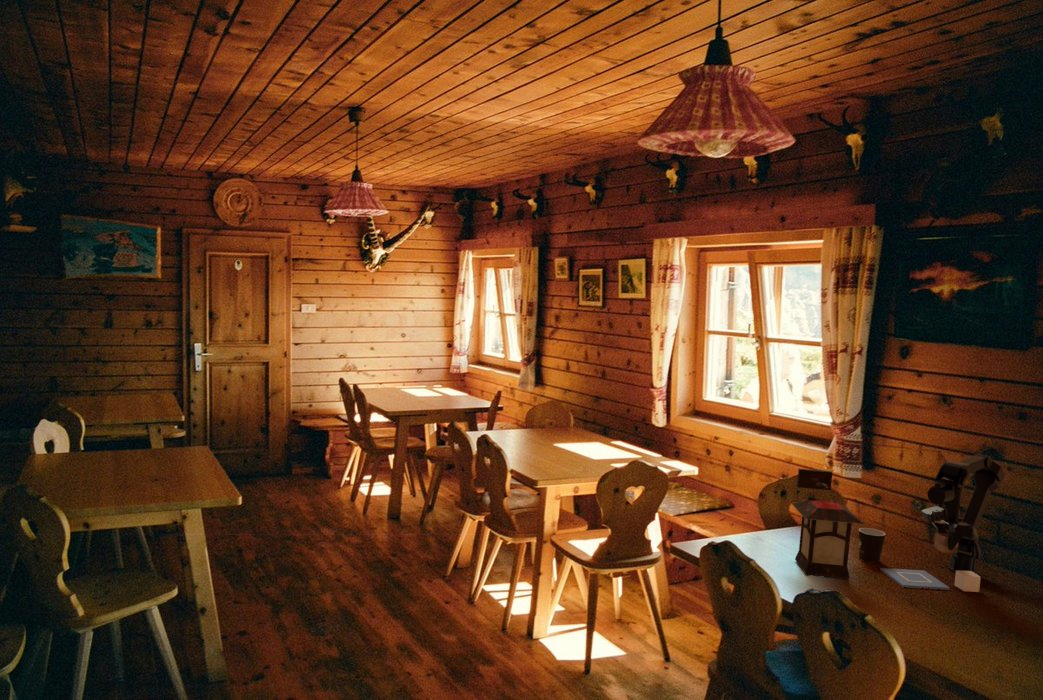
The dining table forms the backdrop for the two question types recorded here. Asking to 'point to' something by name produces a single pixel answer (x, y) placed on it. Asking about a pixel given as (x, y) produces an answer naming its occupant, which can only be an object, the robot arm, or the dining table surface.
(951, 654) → the dining table surface
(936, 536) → the walnut block
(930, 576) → the board
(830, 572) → the lantern
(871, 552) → the coffee mug
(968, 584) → the cream block
